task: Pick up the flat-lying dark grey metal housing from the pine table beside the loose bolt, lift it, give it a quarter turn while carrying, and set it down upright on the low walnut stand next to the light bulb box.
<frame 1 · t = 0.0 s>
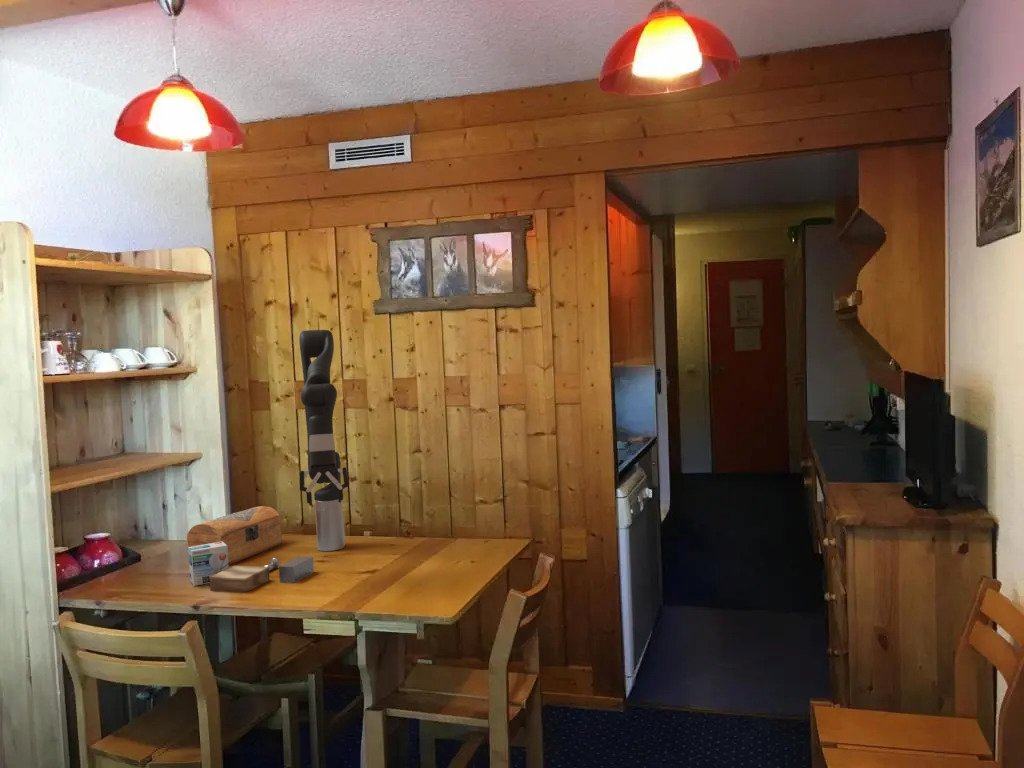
hand: (325, 503, 245), 22 cm above the table, tool pointing down, fingers open, 8 cm apart
wooden box: (238, 554, 280), on the table
stand: (240, 585, 242), on the table
bolt: (269, 570, 256), on the table
light bulb box: (210, 581, 248), on the table
housing: (297, 577, 248), on the table
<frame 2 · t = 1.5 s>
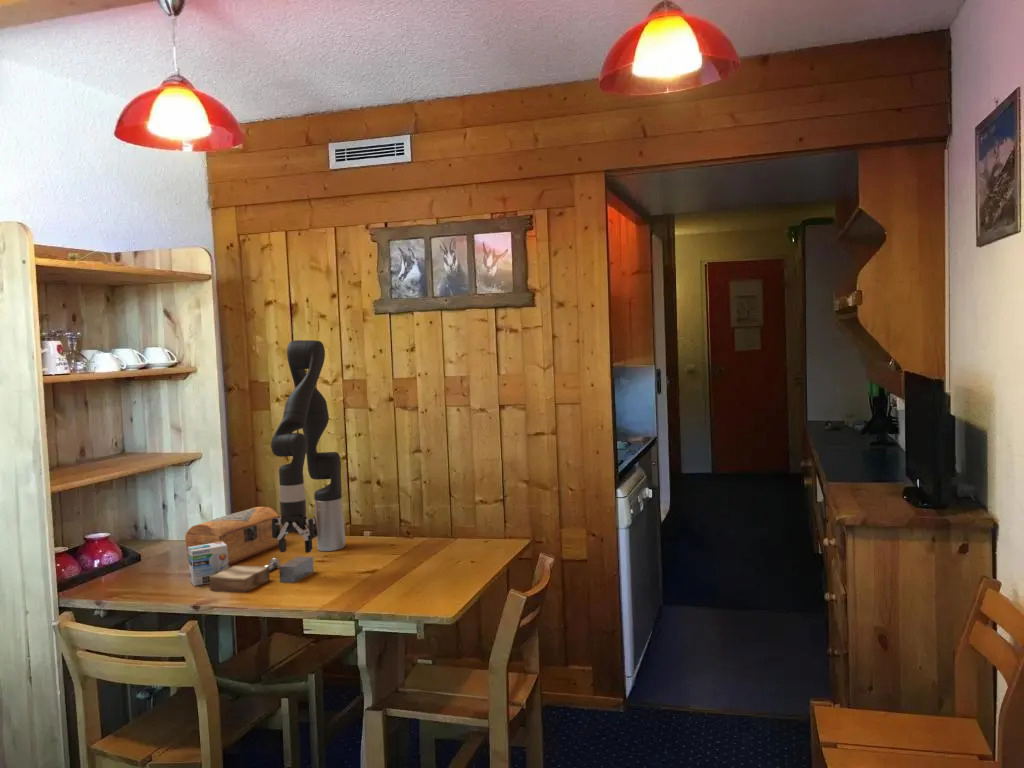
hand: (295, 552, 247), 8 cm above the table, tool pointing down, fingers open, 8 cm apart
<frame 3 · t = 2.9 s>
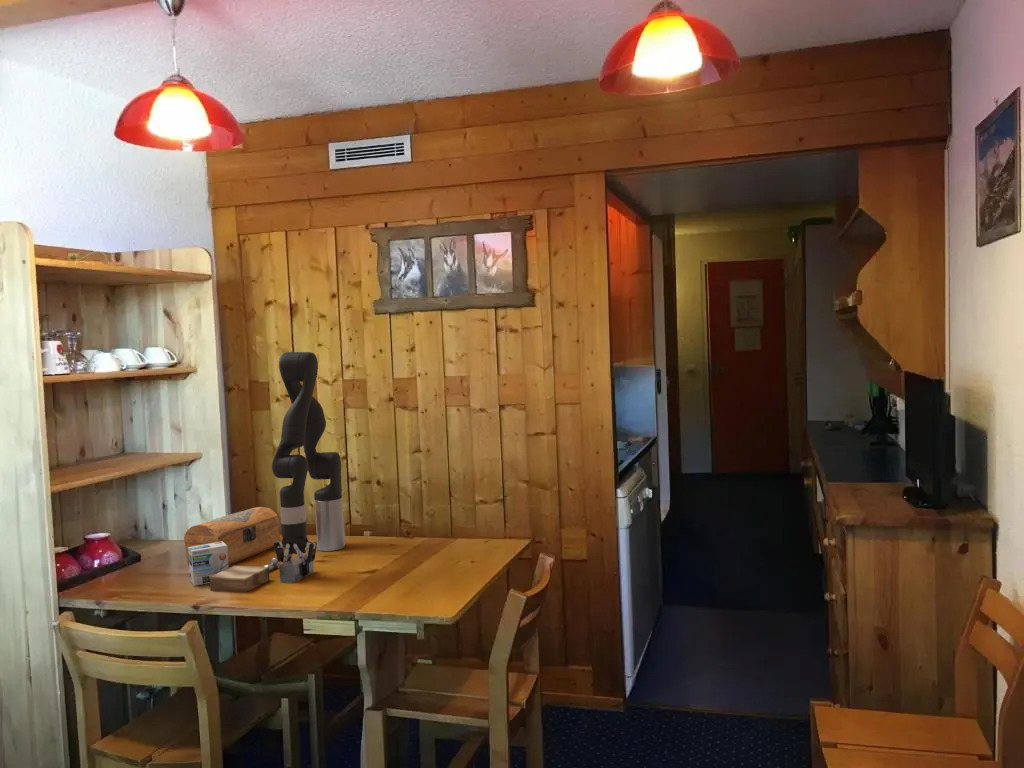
hand: (297, 575, 247), 1 cm above the table, tool pointing down, fingers closed on housing, 5 cm apart
housing: (297, 577, 247), on the table, touching gripper
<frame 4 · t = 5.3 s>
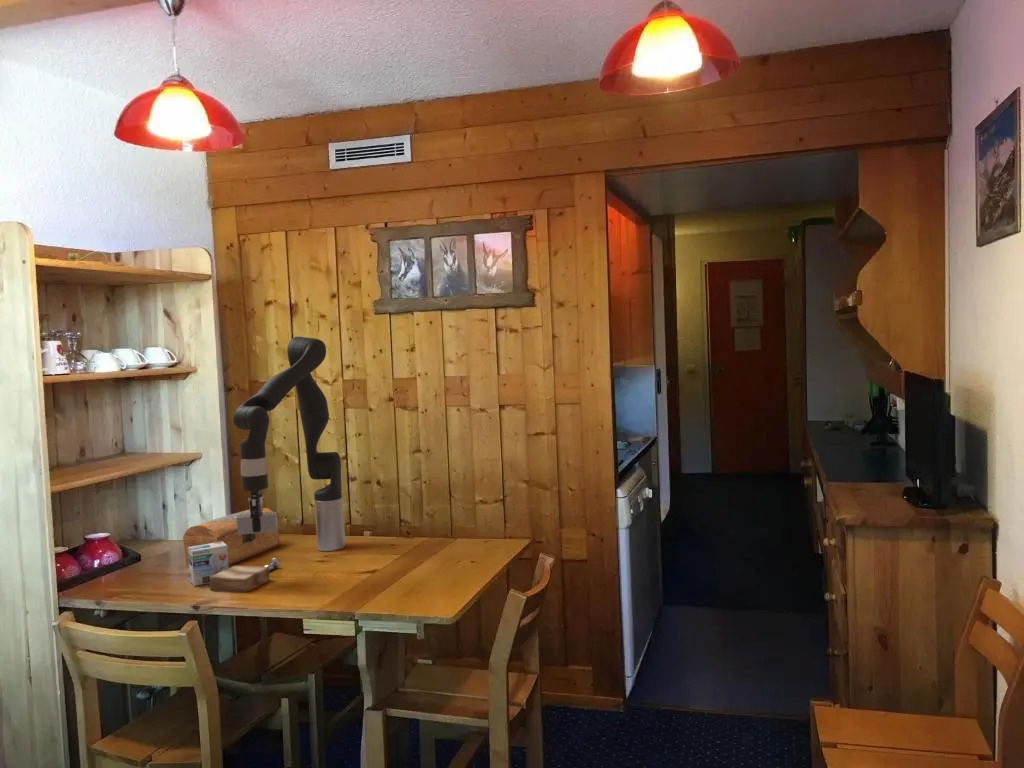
hand: (257, 529, 243), 16 cm above the table, tool pointing down, fingers closed on housing, 5 cm apart
housing: (257, 531, 243), point 15 cm above the table, touching gripper
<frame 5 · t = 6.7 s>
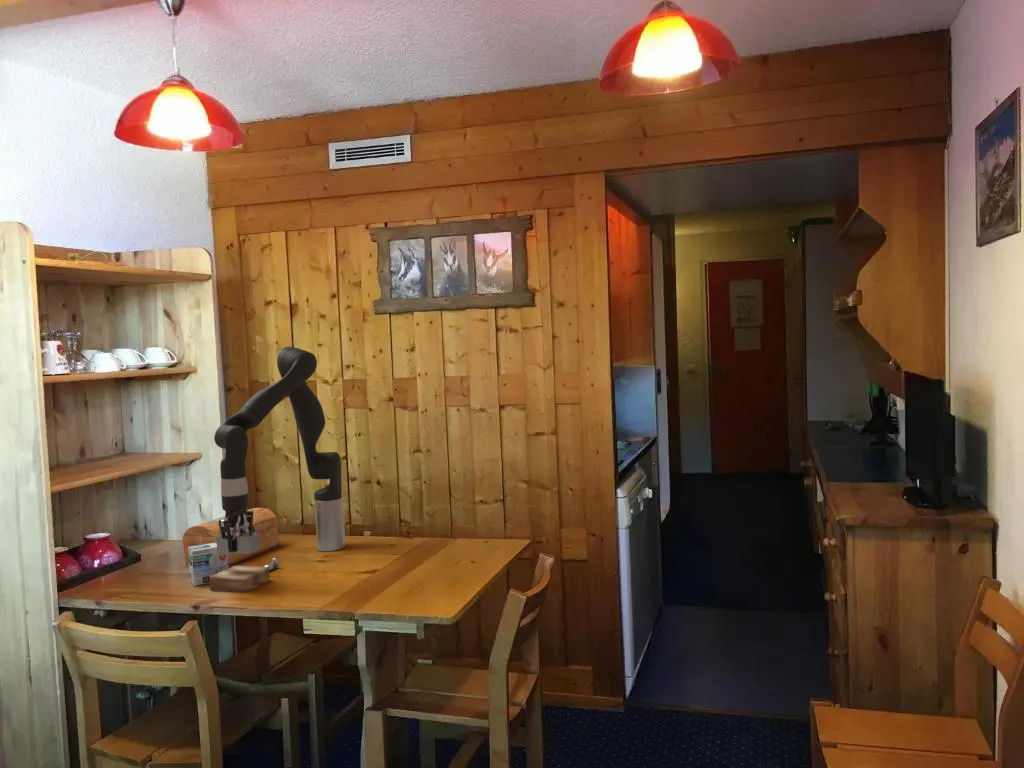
hand: (238, 549, 241), 11 cm above the table, tool pointing down, fingers closed on housing, 5 cm apart
housing: (238, 551, 241), point 10 cm above the table, touching gripper
when the fingers open (6 cm above the table, at t = 8.0 s): housing drops 1 cm, resting on stand.
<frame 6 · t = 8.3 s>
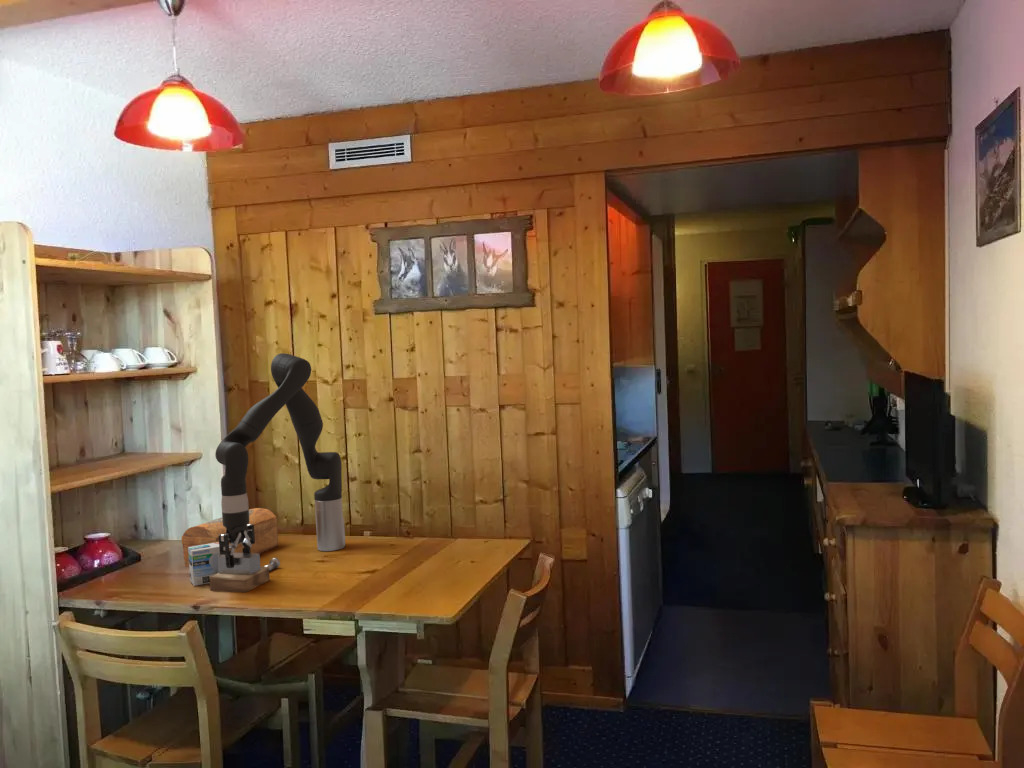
hand: (239, 563, 241), 6 cm above the table, tool pointing down, fingers open, 7 cm apart
housing: (239, 571, 242), point 4 cm above the table, touching stand
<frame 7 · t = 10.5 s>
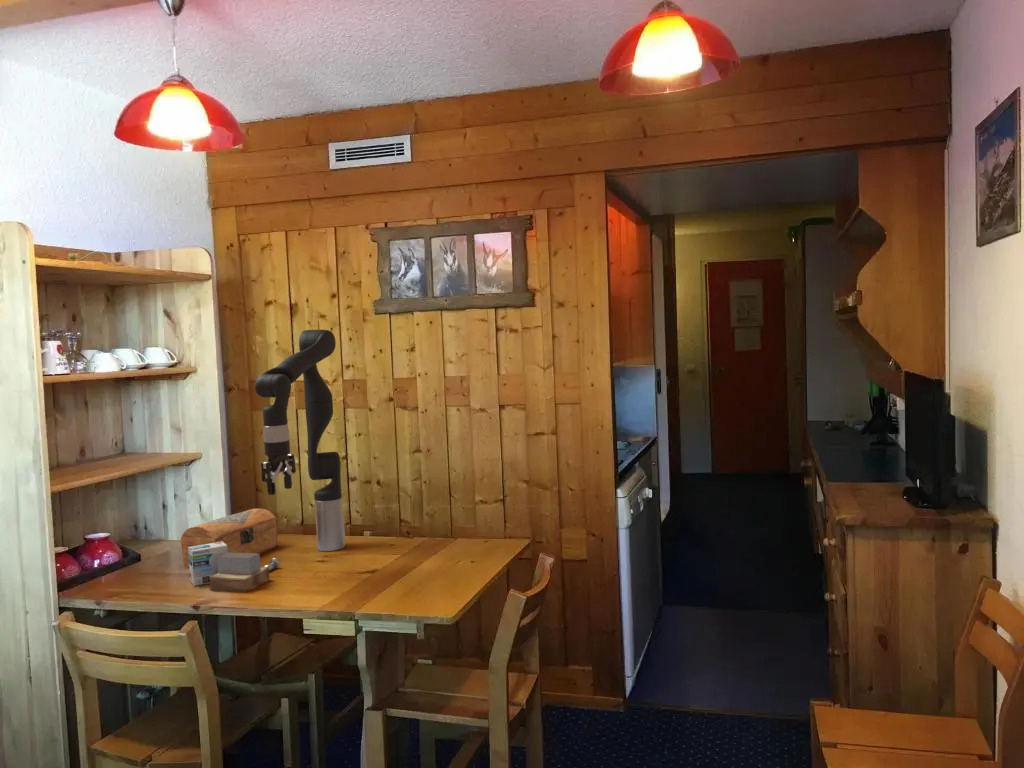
hand: (280, 491, 250), 26 cm above the table, tool pointing down, fingers open, 8 cm apart
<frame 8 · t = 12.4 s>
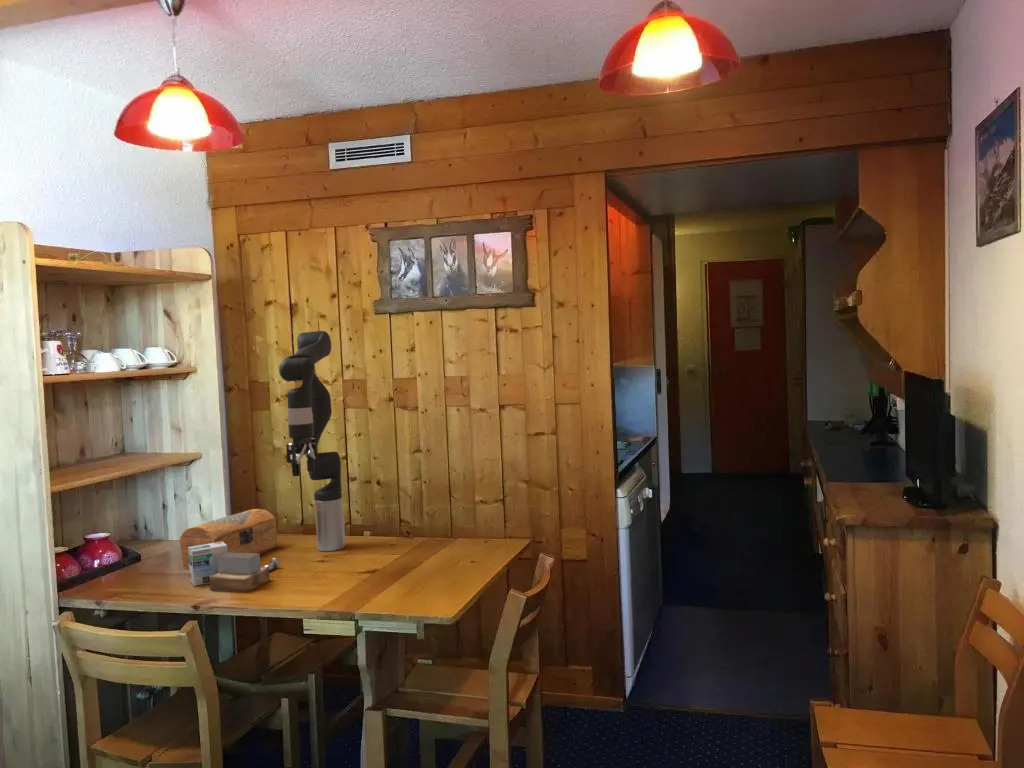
hand: (303, 473, 255), 30 cm above the table, tool pointing down, fingers open, 8 cm apart
at the end: housing inside the target area on the stand (0.0 cm from its centre), point 4.0 cm above the stand's base; housing tilted 0°; the gripper is holding nothing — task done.
